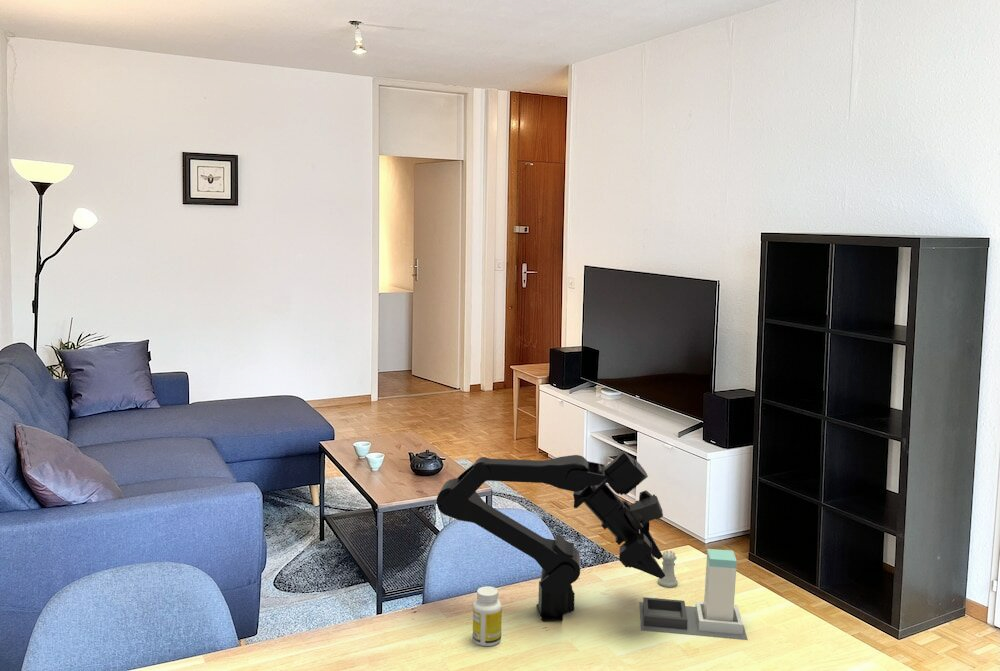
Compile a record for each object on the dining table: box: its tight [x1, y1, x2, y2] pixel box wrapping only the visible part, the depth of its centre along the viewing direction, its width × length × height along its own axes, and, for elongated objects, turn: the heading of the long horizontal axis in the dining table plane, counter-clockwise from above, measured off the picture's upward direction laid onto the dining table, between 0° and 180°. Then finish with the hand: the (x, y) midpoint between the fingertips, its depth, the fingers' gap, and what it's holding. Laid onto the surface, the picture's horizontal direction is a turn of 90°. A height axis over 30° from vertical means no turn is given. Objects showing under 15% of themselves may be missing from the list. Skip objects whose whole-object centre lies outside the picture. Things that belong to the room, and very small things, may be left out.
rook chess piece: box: [657, 550, 679, 588], centre depth 179 cm, size 4×4×8 cm
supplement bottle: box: [472, 586, 503, 647], centre depth 155 cm, size 5×5×10 cm
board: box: [639, 596, 749, 641], centre depth 163 cm, size 20×12×3 cm, turn 82°
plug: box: [703, 548, 738, 622], centre depth 161 cm, size 5×5×14 cm
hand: (662, 567), depth 162 cm, fingers open, 9 cm apart
